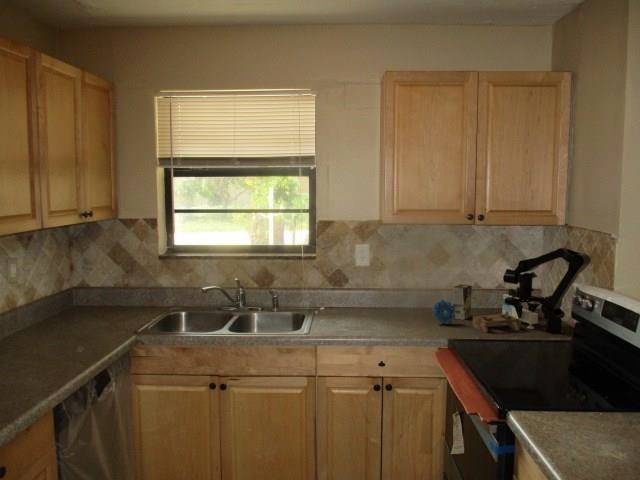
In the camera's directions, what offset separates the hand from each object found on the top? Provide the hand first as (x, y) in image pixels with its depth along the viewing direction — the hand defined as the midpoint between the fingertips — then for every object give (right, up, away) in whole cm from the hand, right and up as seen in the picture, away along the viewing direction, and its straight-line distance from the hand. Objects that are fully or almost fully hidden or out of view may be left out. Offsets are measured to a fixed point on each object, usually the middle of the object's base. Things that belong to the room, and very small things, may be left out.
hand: (524, 318), depth 250 cm
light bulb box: (+2, -2, +17) cm, 17 cm away
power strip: (0, -3, 0) cm, 3 cm away
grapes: (-38, -3, +2) cm, 38 cm away
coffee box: (-26, -2, +15) cm, 30 cm away
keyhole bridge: (-15, -4, -5) cm, 16 cm away
